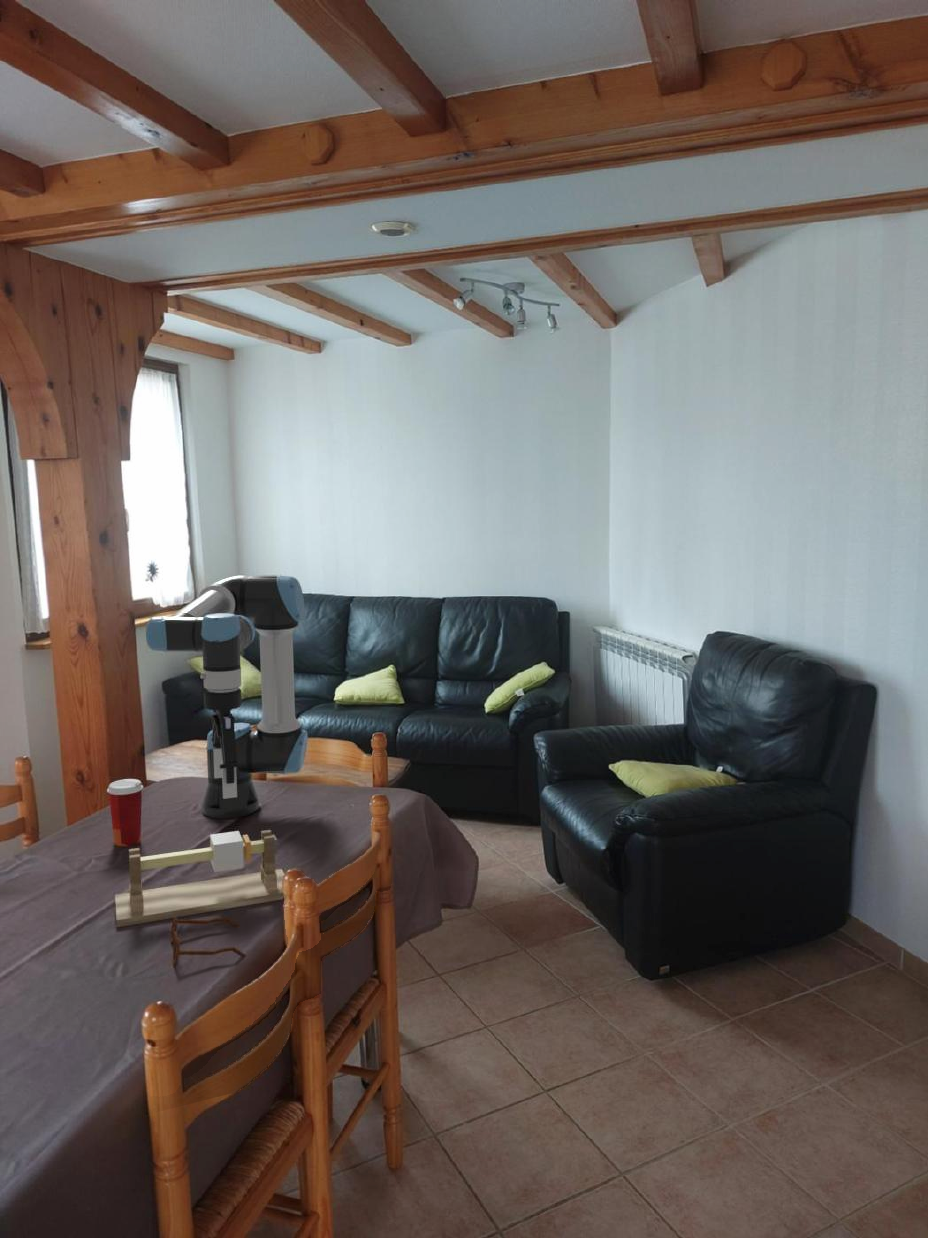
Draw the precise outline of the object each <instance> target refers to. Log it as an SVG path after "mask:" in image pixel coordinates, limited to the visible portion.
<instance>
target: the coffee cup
mask: <svg viewBox="0 0 928 1238" xmlns="http://www.w3.org/2000/svg"><path fill="white" fill-rule="evenodd" d="M143 789H144V785H143V784H142V782H141V780H139V779H135V778H124V779H119V780H118V779H117V780H115V781H113V782H111V783H110V784H108V788H107V789H106V792H107V793H108V799H109V806H110V814H111V815H110V816H111V817H110V818H111V824H112V833H113V841H114V845H115V846H117V847H122V848H124V847H125V848H126V847H132V846H135V845H137V844H139V843H141V835H142V803H143V802H142V799H143V798H142V792H143Z"/></svg>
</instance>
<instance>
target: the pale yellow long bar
mask: <svg viewBox="0 0 928 1238" xmlns="http://www.w3.org/2000/svg"><path fill="white" fill-rule="evenodd" d="M272 836H274V840H275V855H278V838H277V837H276V834H272ZM242 840H243V859H244V861H245V862H246V863H252V855H253V854H262V852H264V840H261V839H258V840H251V839H250V838H249V835H248V834H242ZM140 860H141V871H145V870H153V869H159V868H166V867H171V866H178V865H186V864H192V863H198V862H199V863H200V862H206V861H211V860H213V848H212V847H210V846H209V847H204V848H203V847H202V848H194V849H189V850H187V849H186V850H183V851H182V850H180V851H174V852H168V853H160V854H154V855H153V854H152V855H147V856H146V855H145V856H140Z"/></svg>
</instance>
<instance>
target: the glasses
mask: <svg viewBox="0 0 928 1238" xmlns="http://www.w3.org/2000/svg"><path fill="white" fill-rule="evenodd" d="M172 919H173V920H172V923H171V924H172V925H171V931H170V943H171V944H174V947H173V953H172V965H173V966H177V964H178V958H179V956H183V955H184V956H215V955H217V954H220V953H224V952H226V953H227V952H231V951H232V953H235V954H237V955H238V956H239V957H241V958H242V957H247V954H246V953H244V952H242V951H241V950H239V949H238V948H236V947H234V946H233V947H223V948H218V949H216V950H180V937H178V931H177V928H178V924H190V925H191V924H193V925H195V924H196V925H210V924H213V923H219V922H225V923H227V924H230V925H232V926H233V927H236V926H240V924H239V923H238V922H235V921H234V920H231V919H229V918H227V917H220V918H219V917H216V918H213V919H178V917H174V918H172Z"/></svg>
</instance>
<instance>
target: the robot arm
mask: <svg viewBox="0 0 928 1238" xmlns="http://www.w3.org/2000/svg"><path fill="white" fill-rule="evenodd" d="M304 615H305V598H304V595H303V590H302V586H301V584H300V581H299V580H298V579H297V578H296V577H294V576H289V575H288V576H287V575H281V574H278V575H277V574H274V575H273V574H271V575H270V574H269V575H265V574H264V575H243V574H241V575H234V576H228V577H226V578H223V579H220V580H217V581H215V582H213V583H210V584H209V585H207V586H205V588H203V589H202V590H201V591H200V592H199V594H198V597H197V598H196V599H194V600H192V601H191V602H189V603H188V604H187V605H185V606H184V607H182V608H181V609H179V610H178V611H176V612H175V613H174V614H172V615H171V616H164V615H162V616H153V617H150V619H149V620H148V622H147V625H146V628H145V638H146V644H147V646H148V648H149V649H150V650H152V651H157V652H166V653H167V652H195V653H196V652H197V653H198V652H202V669H203V670H202V671H203V673H201V674H200V679H202V680H203V688H204V691H203V707H204V708H205V709H206V710H208V711H212V729H211V730H210V731H209V732H208V733H207V737H206V759H207V761H206V765H207V786H206V788H205V792H204V795H203V799H202V801H201V812H202V814H203V815H204V816H206V817H208V818H209V817H210V818H212V819H214V818H215V819H236V818H242V817H246V816H249V815H252V814H254V813H255V812H257V811H258V810H259V809H260V799H259V795H258V791H257V789H256V788H255V785H254V782H253V774H282V775H285V774H296V773H299V772H300V771H301V770H302V768H303V766H304V764H305V759H306V755H307V749H308V738H309V737H308V731H307V730H305V729H302V724H301V721H300V720H298V718H296V710H295V708H296V707H295V706H296V705H295V704H296V703H295V675H294V674H295V673H294V671H295V670H294V637H293V635H294V634H293V633H294V631H295V630H296V629H298V627H299V622H300V621H302V620H303V619H304V617H305V616H304ZM256 632H257V633H258V634H259V651H260V652H259V653H260V654H259V655H260V656H259V657H260V684H261V685H260V686H261V687H260V688H261V709H262V719H261V721H260V722H259V723H258V724H257V726H256V729H252V725H251V724H250V723H248V722H236V721H235V716H233V713H232V712H231V711H232V710H237V709H238V708H240V707H241V705H242V704H243V703H242V689H241V688H240V687H241V686H242V667H241V652H242V651H243V650H245V649H247V648H248V647H250V645H251V643H252V642H254V639H255V636H256Z"/></svg>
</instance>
